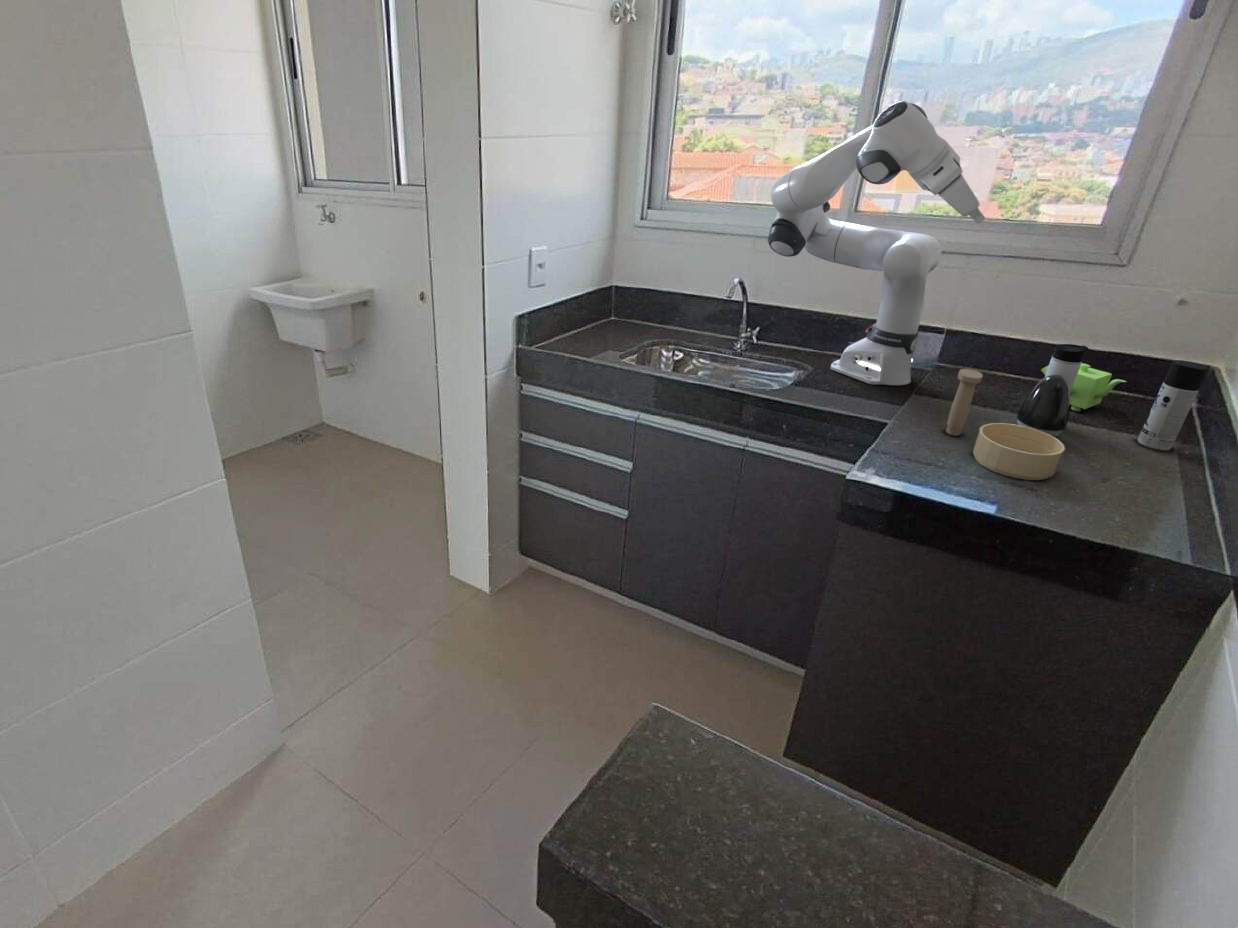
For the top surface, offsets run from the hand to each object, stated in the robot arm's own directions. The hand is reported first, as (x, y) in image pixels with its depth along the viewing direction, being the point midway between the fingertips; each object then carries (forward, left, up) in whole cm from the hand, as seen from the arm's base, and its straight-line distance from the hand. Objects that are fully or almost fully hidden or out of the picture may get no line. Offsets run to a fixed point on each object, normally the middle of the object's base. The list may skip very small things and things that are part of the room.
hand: (975, 213), depth 147 cm
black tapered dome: (+23, +11, -48) cm, 55 cm away
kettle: (+23, +42, -48) cm, 68 cm away
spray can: (+44, +28, -48) cm, 71 cm away
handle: (+9, -4, -48) cm, 49 cm away
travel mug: (+22, +22, -48) cm, 57 cm away
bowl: (+24, -10, -48) cm, 55 cm away
